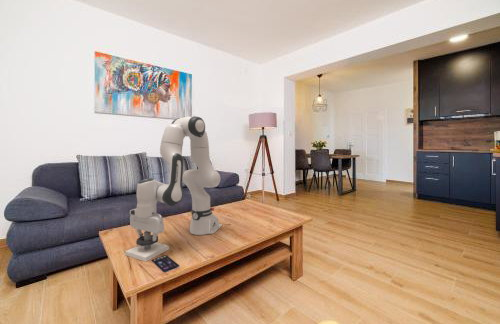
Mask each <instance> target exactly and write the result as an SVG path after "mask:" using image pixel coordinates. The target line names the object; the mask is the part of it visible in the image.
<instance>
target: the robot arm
mask: <svg viewBox="0 0 500 324" xmlns="http://www.w3.org/2000/svg"><path fill="white" fill-rule="evenodd" d="M162 133H163V134H162V138H161V142H160V148H159V153H160V156H161V157H162V158H163V160H164V161H166V162H167V163H168V165H169V169H170V171H169V179H168V183H164V182H160V181H158V180H156V179H155V178H152V177H148V178H143V179H141V180H139V181H138V182H137V185H136V200H137V201H136V202H137V204H136V208H132V209H131V210H129V215H130V216H129V223H130V224H129V225H130V227H131V228H132V229H135V230H136V233H137V238H141V237H143V236H144V233H143V232H145V231H148V232H151V233H152V235H153V237H151V241H156V237H157V236H158V235H159V234H162V233H163V232H164V230H165V224H164V219H163V216H162V215H161V214H160V213H158V212H157V203H162V204H165V205H167V206H171V207H174V206H177V205H178V204H179V203H180V202H181V201H182V199H183V197H184V190H183V183H184V185H186V187H187V188H188V189H189V193H190V196H191V204H192V205H191V207H192V208H191V216H190V225H189V229H188V230H189V233H190V234H192V235H197V236H204V235H210V234H212V235H213V234H215V233H216V232H217V231H218V230H219V229H221V227H223V224H222V223H221V222H219V218H218V216H217V215H215V214H213V212H214V211H215V208H214V207H211V195H210V194H209V193H208V192H206V190H205V188H209V189H212V188H216V187H218V186H219V184H221V175H220V173H219V172H218V171H217V170H216V169H215V168H214V166H213V164H212V163H211V158H210V146H209V138H208V133H207V131H206V123H205V121H204V119H203V118H202V117H199V116H196V115H193V116H184V117H178V118H175V119H174V120H172V122H171V123H169V124H167V125H166V127H165V128H164V132H162ZM185 137H188V138H189V142H190V146H189V147H190V148H189V149H190V160H191V162H192V163H193V164H195V165H196V167H197V169H196V168H192V169H188V170H187V169H186V170H185V171H184V159H183V146H184V139H185ZM142 231H143V232H142Z"/></svg>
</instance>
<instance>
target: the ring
mask: <svg viewBox="0 0 500 324" xmlns="http://www.w3.org/2000/svg"><path fill="white" fill-rule="evenodd" d="M151 237H153V234H151ZM156 242H157V243H159V236H158V235H157V237H156V241H151V240H149V241H144V235H143V237H141V238H140V237H137V239H136V241H135V243H136V245H137V246H138V245H140V246H147V245H152V244H154V243H156Z"/></svg>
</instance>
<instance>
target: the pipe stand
mask: <svg viewBox="0 0 500 324" xmlns="http://www.w3.org/2000/svg"><path fill="white" fill-rule="evenodd" d="M143 232H144V233H143V236H144V241H149V240H151V235H152V234H151V233H152V232H148V231H143ZM168 250H170V246H169V245H168V244H164V243H160V242H156V243H154V244H152V245H147V246H140V245H137V246H134V247H132V248H130V249H128V250H127V249H126V250H125V253H124V254H125V256H127V257H129V258H134V259H136V260H139V261H141V262H144V263H145V262H148V261H151V260H152V259H155V258H157V256H159V255H162V254H163V253H165V252H167V251H168Z"/></svg>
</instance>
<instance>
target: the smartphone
mask: <svg viewBox="0 0 500 324" xmlns="http://www.w3.org/2000/svg"><path fill="white" fill-rule="evenodd" d="M150 261H151V263H153V264H154V266H155V267H156V268H157V269H159V270H160V271H161V272H162V274H163V273H164V274H166V273H168V272H171V271H173V270H176V269H179V268H180V266H181V265H180V264H179V263H177V262H176V261H175V260H174V259H172V258H171V257H170V256H169V255H167V254H164V255H160V256H158V257H157V256H156V257H154V258H152V259H150Z"/></svg>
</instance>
